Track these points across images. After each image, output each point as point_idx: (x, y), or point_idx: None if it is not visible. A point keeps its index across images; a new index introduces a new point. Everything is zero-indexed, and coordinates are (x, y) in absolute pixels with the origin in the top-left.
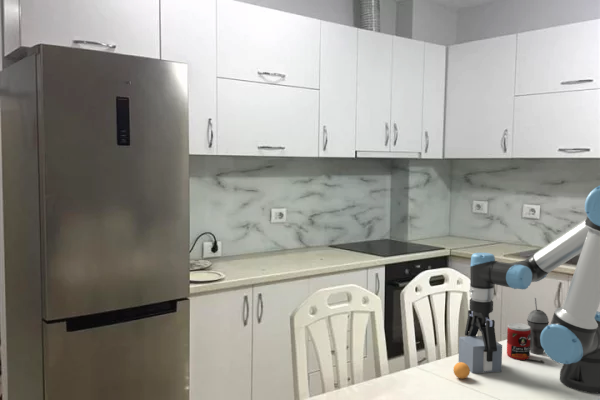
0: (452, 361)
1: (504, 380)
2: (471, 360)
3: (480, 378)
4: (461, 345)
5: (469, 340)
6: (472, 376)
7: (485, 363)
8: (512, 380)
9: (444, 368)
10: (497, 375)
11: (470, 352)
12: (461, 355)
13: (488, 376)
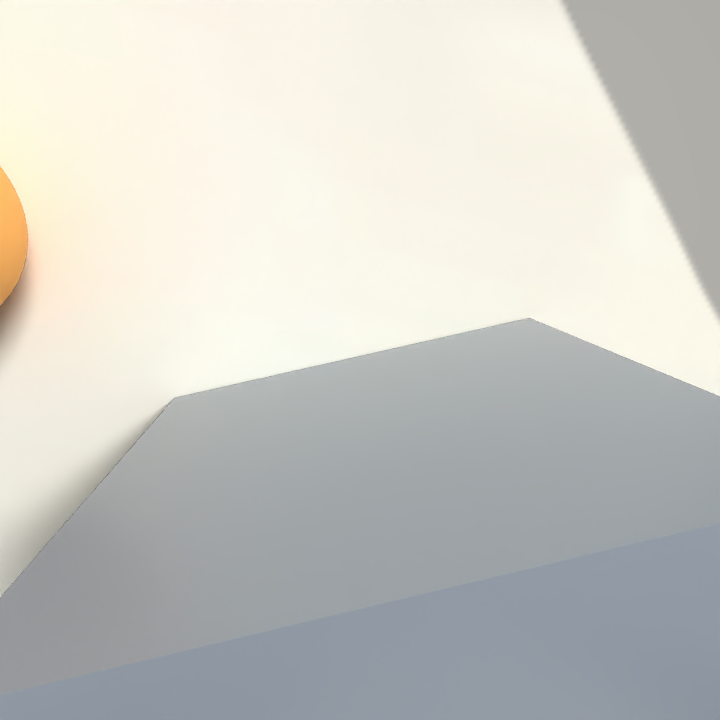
0: (549, 246)
1: None
2: (156, 456)
3: (23, 448)
4: (594, 424)
5: (530, 701)
6: (66, 375)
7: None
8: None
9: (294, 65)
10: None
11: (160, 518)
12: (496, 363)
13: None
